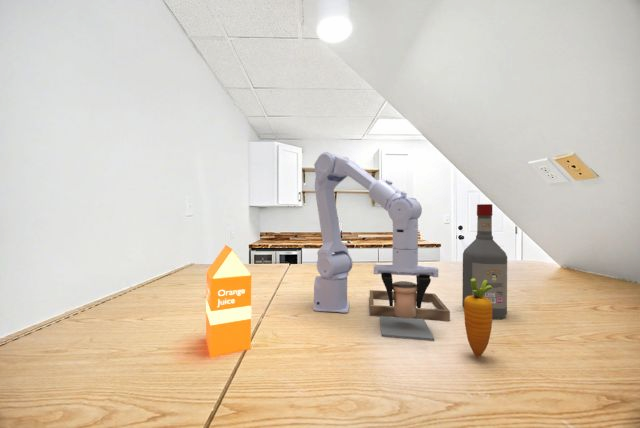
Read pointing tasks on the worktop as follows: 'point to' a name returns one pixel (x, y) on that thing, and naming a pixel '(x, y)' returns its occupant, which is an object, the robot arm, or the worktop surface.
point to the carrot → (478, 318)
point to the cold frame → (421, 313)
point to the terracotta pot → (405, 299)
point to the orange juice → (228, 305)
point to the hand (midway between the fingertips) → (404, 305)
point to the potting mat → (405, 328)
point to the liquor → (486, 264)
